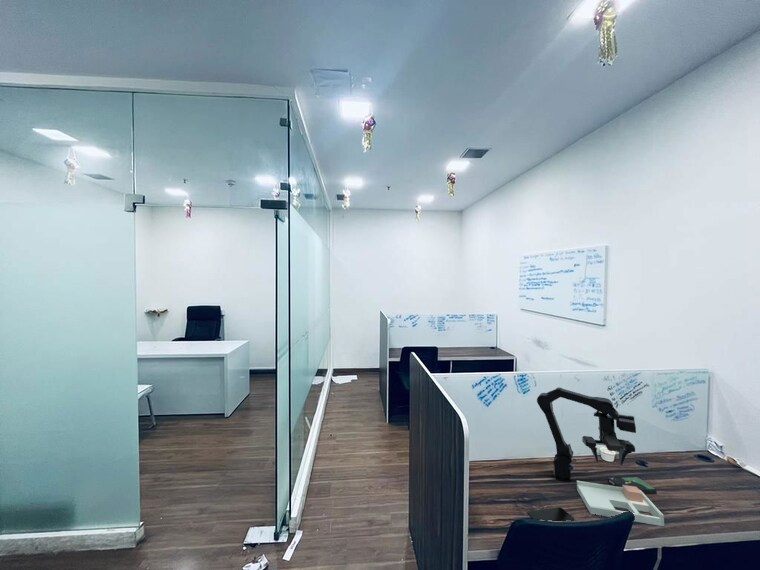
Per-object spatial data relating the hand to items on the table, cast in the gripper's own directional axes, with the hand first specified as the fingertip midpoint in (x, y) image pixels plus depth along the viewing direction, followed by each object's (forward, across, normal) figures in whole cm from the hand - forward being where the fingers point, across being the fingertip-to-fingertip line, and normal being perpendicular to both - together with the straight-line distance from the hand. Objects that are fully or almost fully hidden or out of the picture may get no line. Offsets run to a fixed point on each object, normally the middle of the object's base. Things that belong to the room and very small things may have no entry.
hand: (608, 463), depth 139 cm
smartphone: (+13, -29, -27) cm, 42 cm away
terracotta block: (+10, +5, -8) cm, 13 cm away
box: (+12, -2, -12) cm, 17 cm away
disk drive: (+13, +10, +6) cm, 17 cm away
